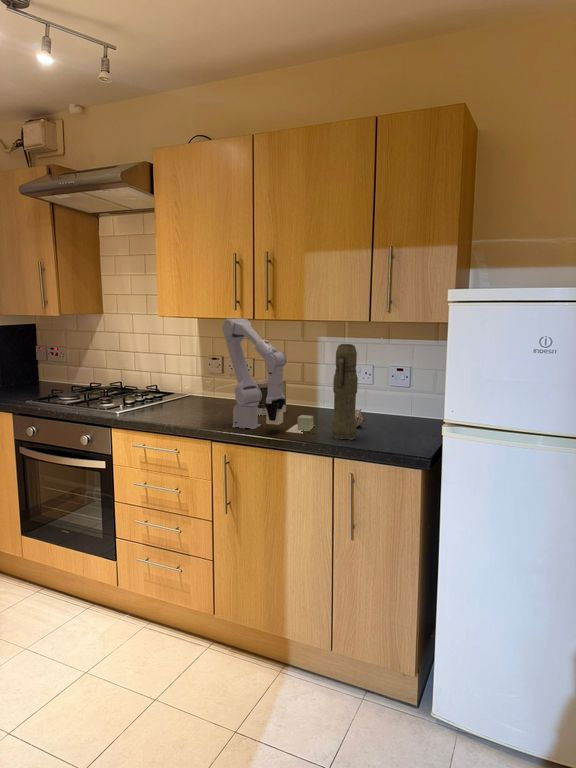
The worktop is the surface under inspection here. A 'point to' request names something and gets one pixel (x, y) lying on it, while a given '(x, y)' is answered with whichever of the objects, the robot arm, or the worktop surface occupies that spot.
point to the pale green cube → (305, 422)
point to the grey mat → (294, 429)
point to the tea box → (264, 390)
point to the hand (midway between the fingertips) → (274, 418)
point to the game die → (358, 417)
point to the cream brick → (278, 417)
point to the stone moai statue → (345, 392)
